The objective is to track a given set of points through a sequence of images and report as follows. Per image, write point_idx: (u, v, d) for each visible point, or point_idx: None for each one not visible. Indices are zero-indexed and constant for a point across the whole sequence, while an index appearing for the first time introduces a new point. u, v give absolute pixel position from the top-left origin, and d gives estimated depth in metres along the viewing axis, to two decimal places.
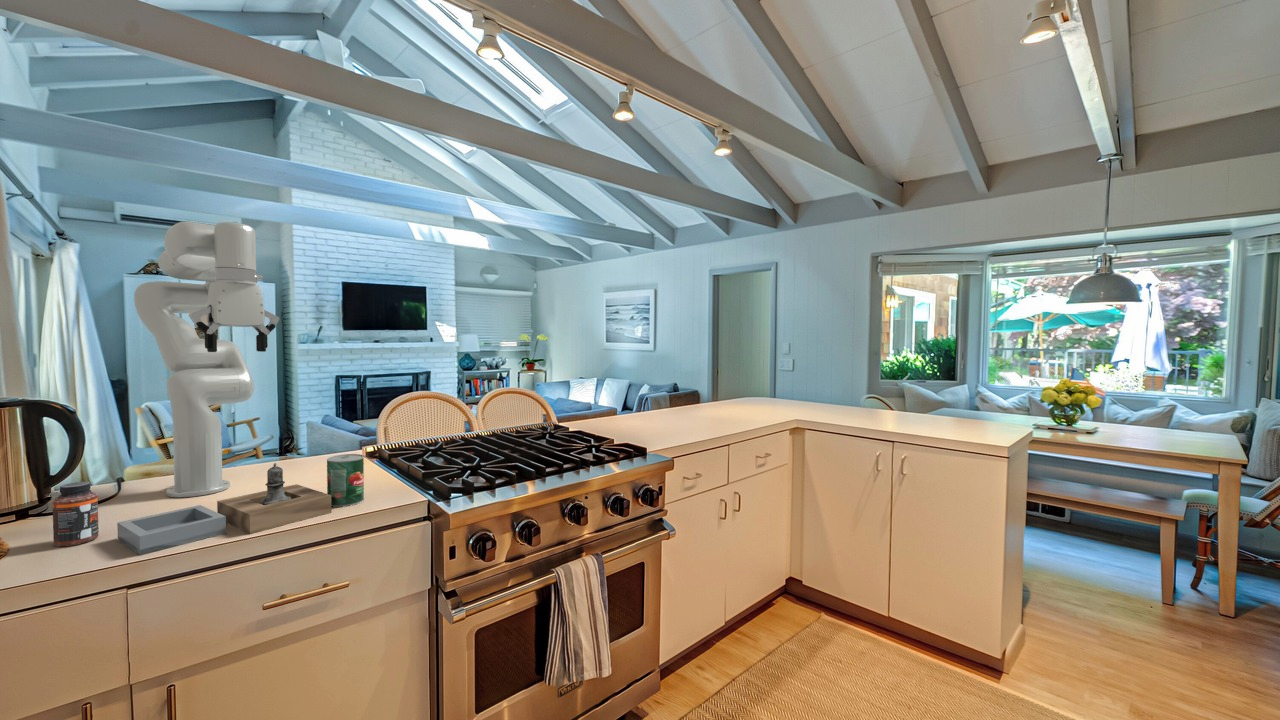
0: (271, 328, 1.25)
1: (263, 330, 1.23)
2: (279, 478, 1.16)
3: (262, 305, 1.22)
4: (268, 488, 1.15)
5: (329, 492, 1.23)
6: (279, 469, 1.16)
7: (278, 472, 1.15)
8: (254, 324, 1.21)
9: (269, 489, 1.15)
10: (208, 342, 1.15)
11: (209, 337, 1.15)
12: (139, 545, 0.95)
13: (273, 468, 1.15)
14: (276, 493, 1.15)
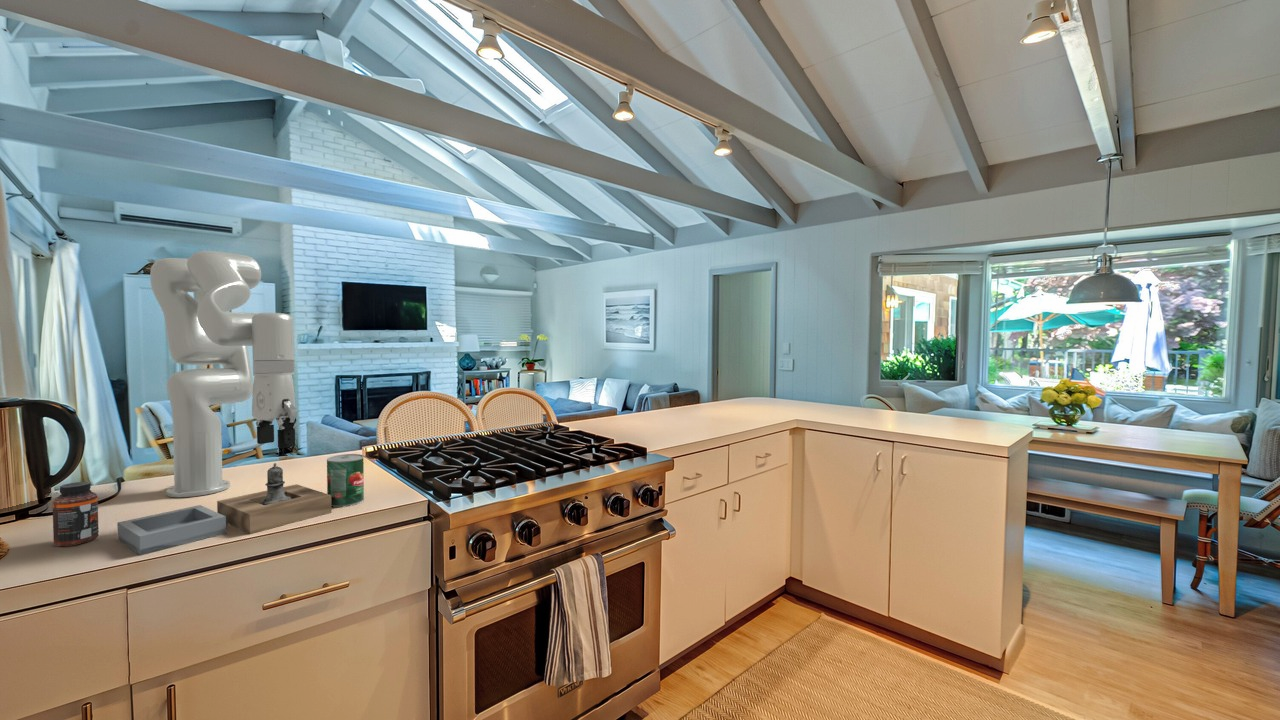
0: None
1: None
2: (279, 478, 1.16)
3: None
4: (268, 488, 1.15)
5: (329, 492, 1.23)
6: (279, 469, 1.16)
7: (278, 472, 1.15)
8: None
9: (269, 489, 1.15)
10: (292, 437, 1.13)
11: None
12: (139, 545, 0.95)
13: (273, 468, 1.15)
14: (276, 493, 1.15)
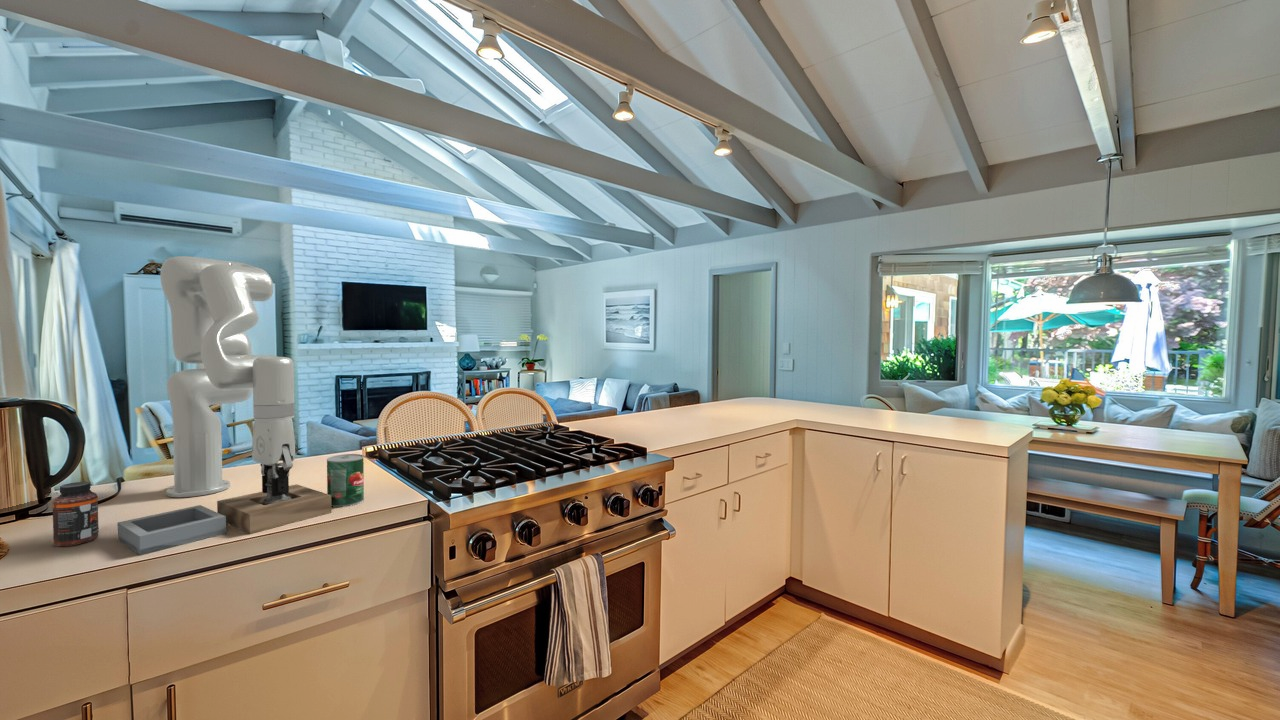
0: None
1: None
2: None
3: None
4: (268, 488, 1.15)
5: (329, 492, 1.23)
6: None
7: None
8: None
9: (269, 489, 1.15)
10: (285, 485, 1.15)
11: None
12: (139, 545, 0.95)
13: None
14: None
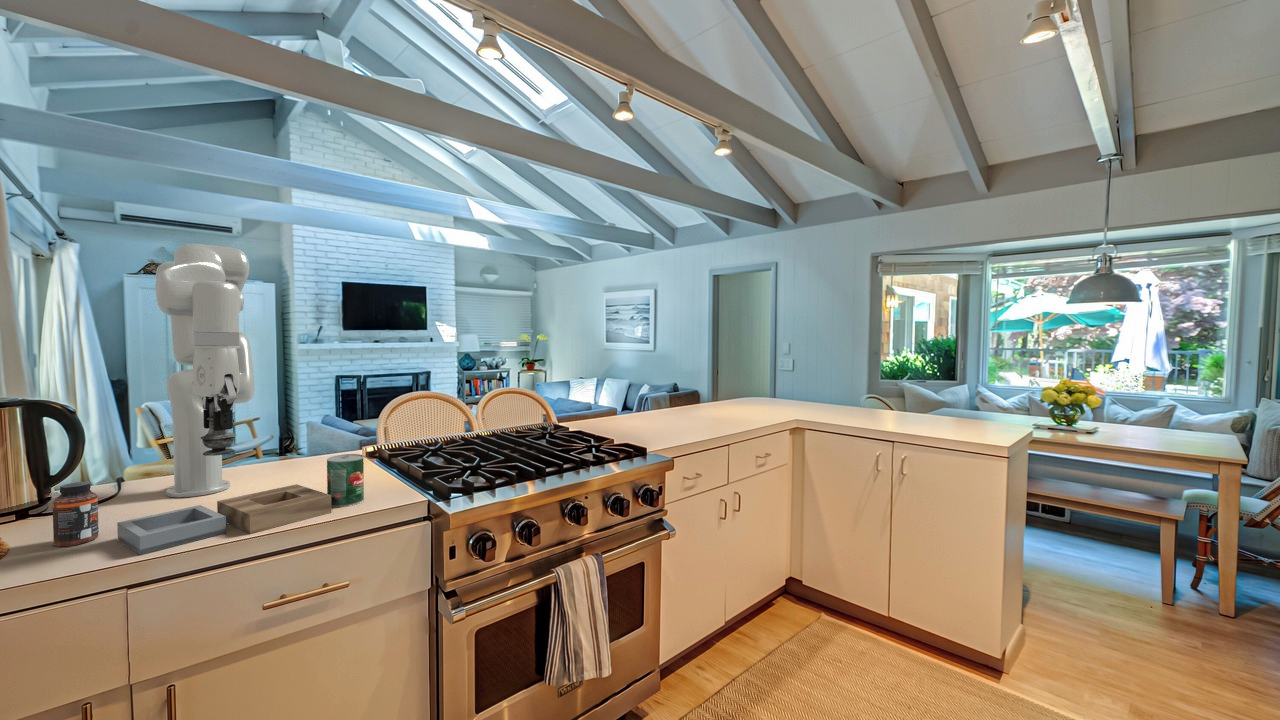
0: None
1: None
2: None
3: None
4: (210, 422, 1.07)
5: (329, 492, 1.23)
6: None
7: None
8: None
9: (211, 424, 1.07)
10: (229, 419, 1.07)
11: None
12: (139, 545, 0.95)
13: None
14: None
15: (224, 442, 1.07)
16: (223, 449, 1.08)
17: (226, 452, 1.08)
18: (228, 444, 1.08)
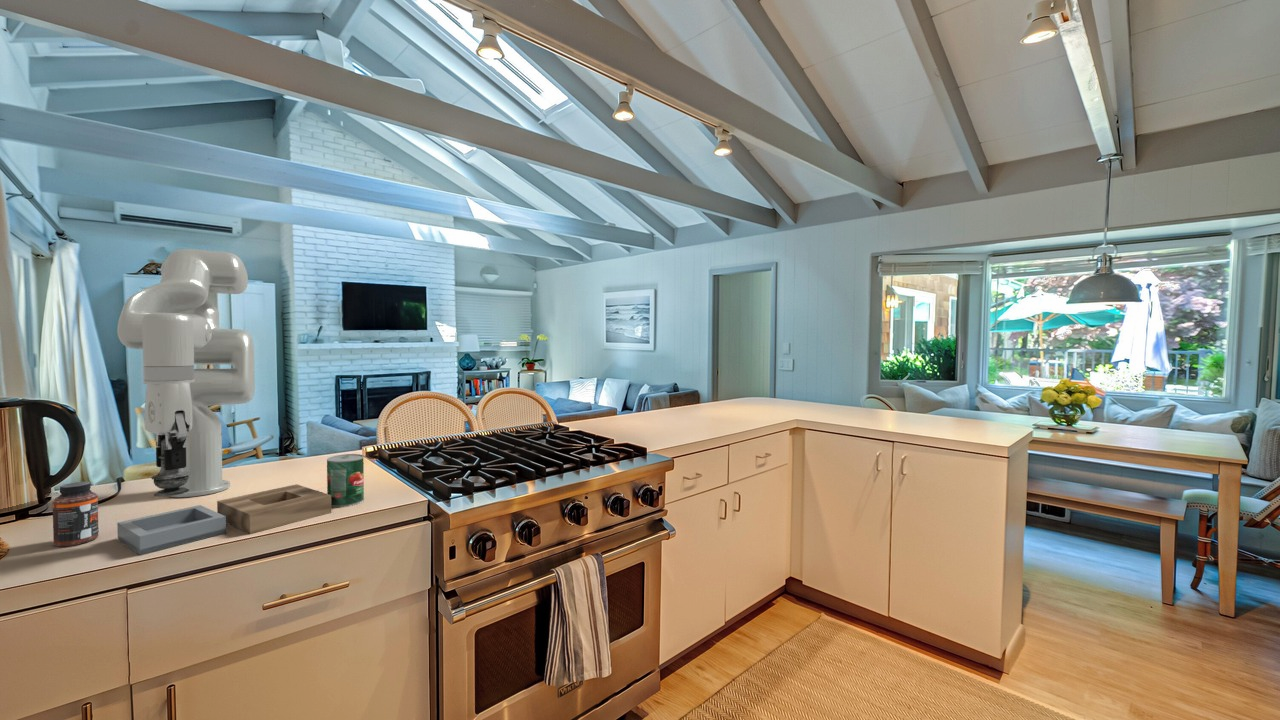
0: None
1: None
2: None
3: None
4: (162, 461, 1.01)
5: (329, 492, 1.23)
6: None
7: None
8: None
9: (162, 463, 1.01)
10: (181, 457, 1.02)
11: None
12: (139, 545, 0.95)
13: None
14: None
15: (176, 481, 1.02)
16: (176, 489, 1.03)
17: (178, 492, 1.02)
18: (181, 484, 1.03)
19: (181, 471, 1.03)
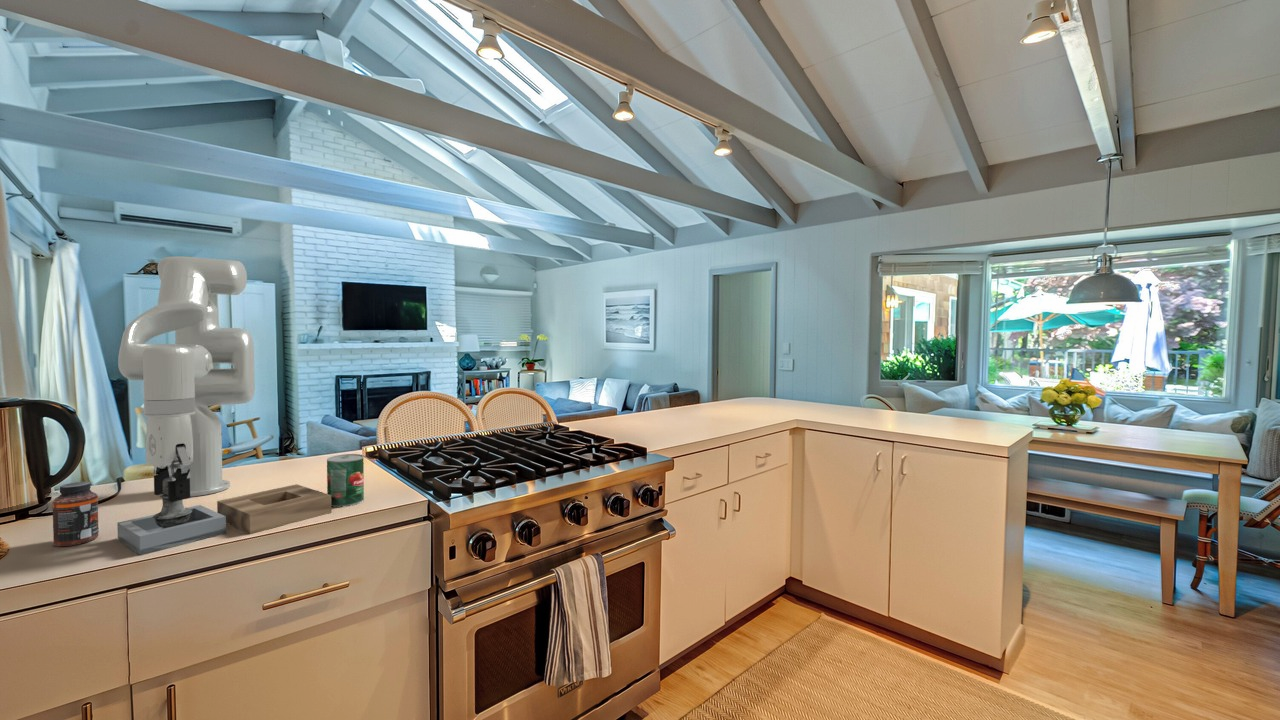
0: None
1: None
2: None
3: None
4: (163, 500, 1.02)
5: (329, 492, 1.23)
6: None
7: None
8: None
9: (164, 502, 1.02)
10: (185, 488, 1.01)
11: None
12: (139, 545, 0.95)
13: (169, 478, 1.02)
14: (173, 506, 1.02)
15: (178, 521, 1.02)
16: None
17: None
18: (182, 522, 1.03)
19: (182, 510, 1.04)
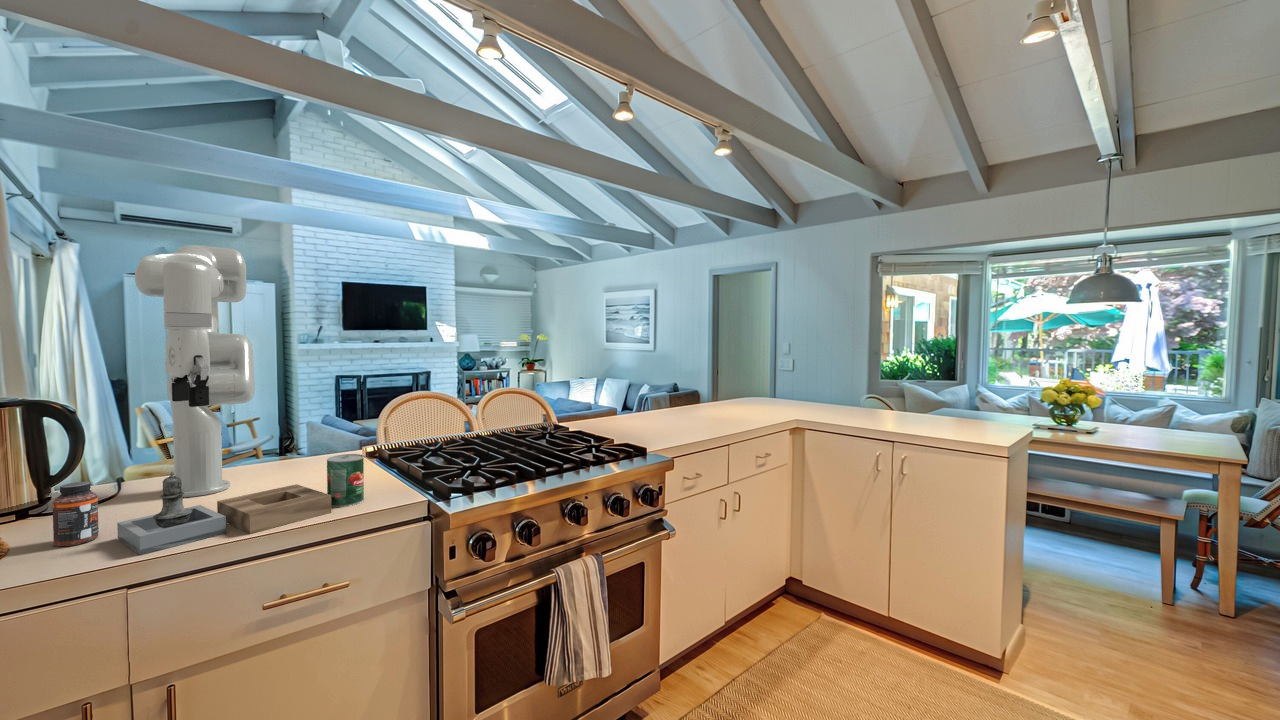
0: None
1: None
2: (176, 489, 1.03)
3: None
4: (163, 500, 1.02)
5: (329, 492, 1.23)
6: (177, 479, 1.03)
7: (175, 482, 1.03)
8: None
9: (164, 502, 1.02)
10: (204, 395, 1.06)
11: (204, 390, 1.06)
12: (139, 545, 0.95)
13: (169, 478, 1.03)
14: (173, 506, 1.02)
15: (178, 520, 1.02)
16: None
17: None
18: (182, 522, 1.03)
19: (183, 510, 1.04)
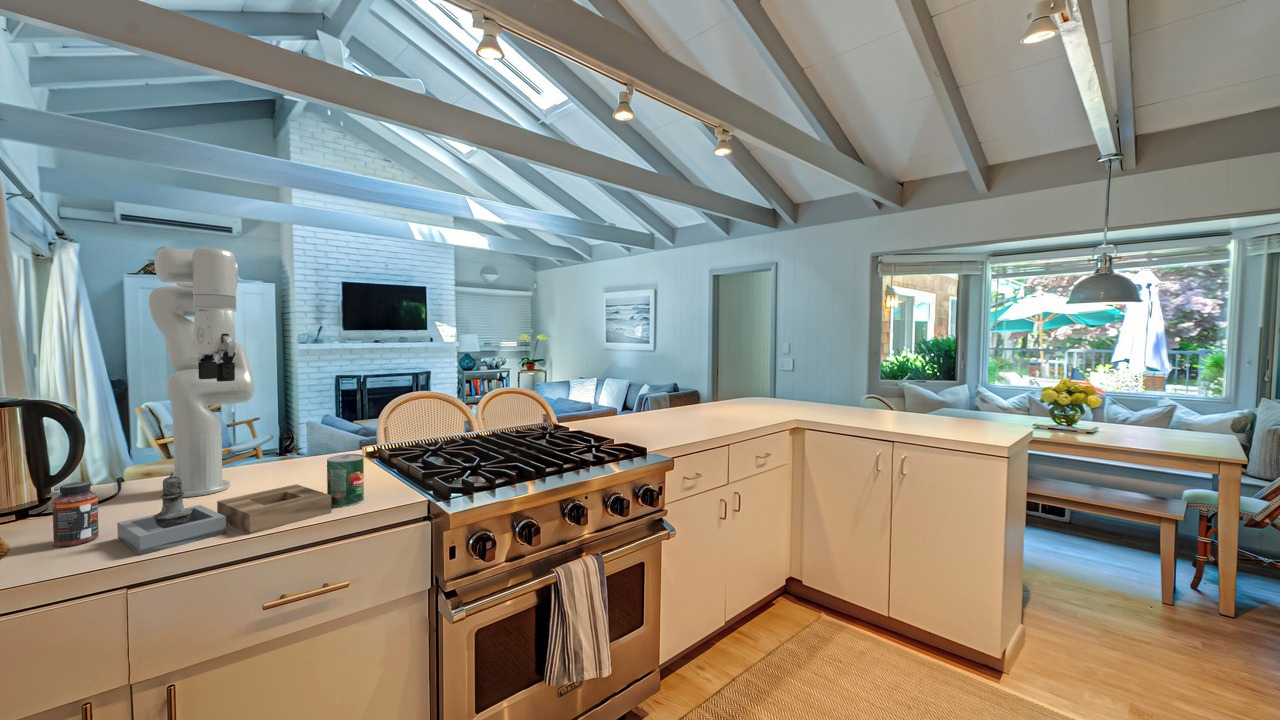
0: None
1: None
2: (177, 489, 1.03)
3: None
4: (163, 500, 1.02)
5: (329, 492, 1.23)
6: (177, 479, 1.03)
7: (175, 482, 1.03)
8: None
9: (164, 502, 1.02)
10: (231, 371, 1.14)
11: None
12: (139, 545, 0.95)
13: (169, 478, 1.03)
14: (173, 506, 1.02)
15: (178, 520, 1.02)
16: None
17: None
18: (182, 522, 1.03)
19: (183, 510, 1.04)
